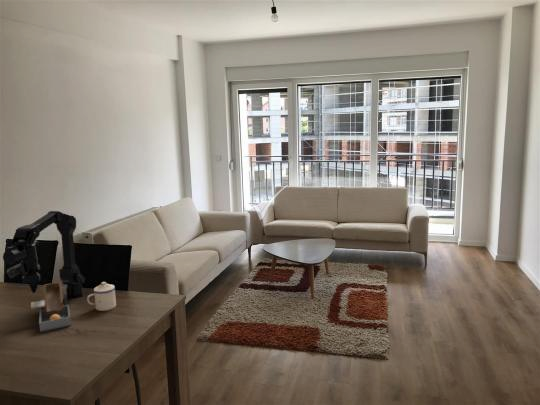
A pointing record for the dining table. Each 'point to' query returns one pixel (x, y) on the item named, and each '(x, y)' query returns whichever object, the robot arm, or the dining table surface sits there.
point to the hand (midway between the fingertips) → (34, 292)
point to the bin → (54, 324)
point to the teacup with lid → (104, 297)
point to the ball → (54, 317)
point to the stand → (65, 301)
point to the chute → (50, 298)
